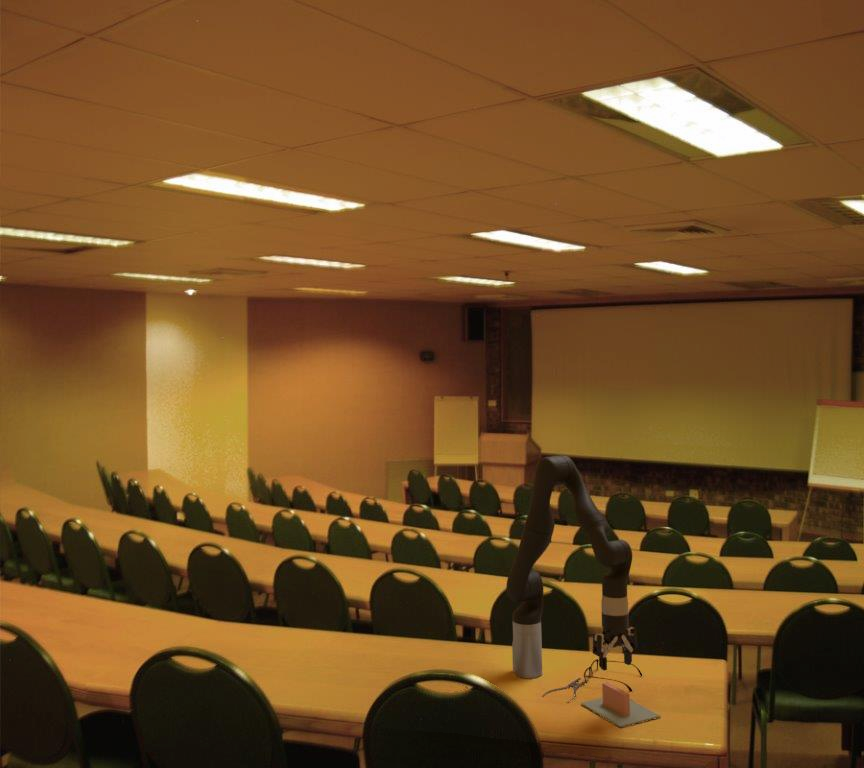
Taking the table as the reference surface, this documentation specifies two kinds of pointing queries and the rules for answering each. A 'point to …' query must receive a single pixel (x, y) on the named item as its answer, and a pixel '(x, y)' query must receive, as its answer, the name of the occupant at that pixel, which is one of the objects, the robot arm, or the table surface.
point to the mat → (636, 714)
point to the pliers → (573, 684)
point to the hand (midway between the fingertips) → (615, 666)
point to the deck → (616, 698)
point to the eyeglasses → (605, 678)
